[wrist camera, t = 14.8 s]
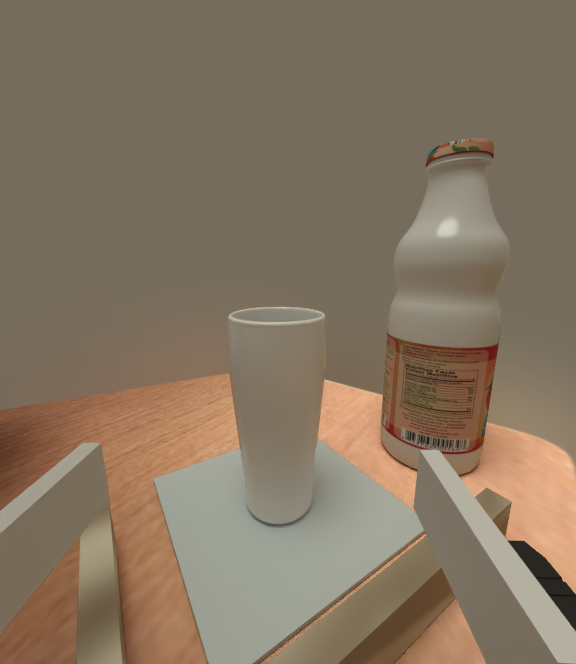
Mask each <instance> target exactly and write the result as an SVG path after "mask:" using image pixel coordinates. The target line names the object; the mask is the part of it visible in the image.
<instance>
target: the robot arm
mask: <svg viewBox="0 0 576 664" xmlns="http://www.w3.org/2000/svg"><path fill="white" fill-rule="evenodd" d="M109 500H110V499H109V492H108V486H107V479H106V473H105V466H104V460H103V453H102V447H101V443H82V444H81V445H80V446H78V447H77V448H76V449H75V450H74V451H72V452H71V453H70V454H69V455H68V456H66V457H65V458H64V459H63V460H61V461H60V462H59V463H58V464H57V465H55V466H54V467H53V468H52V469H50V470H49V471H48V472H47V473H46V474H44V475H43V476H42V477H41V478H40V479H38V480H37V481H36V482H35V483H33V484H32V485H31V486H30V487H29V488H27V489H26V490H25V491H24V492H23V493H21V494H20V495H19V496H18V497H16V498H15V499H14V500H13V501H12V502H10V503H9V504H8V505H7V506H5V507H4V508H3V509H2V510H1V511H0V634H1V633H2V632H3V630H4V629H5V628H6V627H7V625H8V624H9V623H10V622H11V621H12V619H13V618H14V617H15V616H16V614H17V613H18V612H19V611H20V609H21V608H22V607H23V606H24V604H25V603H26V602H27V601H28V600H29V598H30V597H31V596H32V595H33V593H34V592H35V591H36V590H37V588H38V587H39V586H40V585H41V583H42V582H43V581H44V580H45V579H46V577H47V576H48V575H49V574H50V572H51V571H52V570H53V569H54V567H55V566H56V565H57V564H58V563H59V561H60V560H61V559H62V558H63V556H64V555H65V554H66V553H67V551H68V550H69V549H70V548H71V546H72V545H73V544H74V543H75V542H76V540H77V539H78V538H79V537H80V535H81V534H82V533H83V532H84V530H85V529H86V528H87V527H88V525H89V524H90V523H91V522H92V521H93V519H94V518H95V517H96V516H97V514H98V513H99V512H100V511H101V509H102V508H103V507H104V506H105V504H106V503H107V502H108V501H109ZM414 510H415V512H416V514H417V516H418V518H419V520H420V523H421V525H422V527H423V529H424V531H425V533H426V535H427V537H428V540H429V542H430V544H431V546H432V548H433V550H434V552H435V555H436V557H437V559H438V561H439V563H440V565H441V567H442V569H443V572H444V574H445V576H446V578H447V580H448V582H449V584H450V587H451V589H452V591H453V593H454V595H455V597H456V599H457V601H458V604H459V606H460V608H461V610H462V612H463V614H464V616H465V619H466V621H467V623H468V625H469V627H470V629H471V631H472V633H473V636H474V638H475V640H476V642H477V644H478V646H479V648H480V651H481V653H482V655H483V657H484V659H485V661H486V663H487V664H576V594H575V593H574V592H573V591H572V589H571V588H570V587H569V586H568V585H567V583H566V582H563V580H562V577H561V576H560V575H559V574H558V573H557V571H556V570H555V569H554V568H553V567H552V566H551V564H550V563H549V562H548V561H547V560H546V558H545V557H543V556H542V555H541V554H540V553H538V552H537V551H536V550H535V549H533V548H532V547H531V546H530V545H528V544H527V543H526V542H525V541H507V540H506V538H505V537H504V536H503V534H502V533H501V532H500V530H499V529H498V528H497V526H496V525H495V524H494V522H493V521H492V520H491V518H490V517H489V516H488V514H487V513H486V512H485V510H484V509H483V508H482V506H481V505H480V504H479V502H478V501H477V500H476V498H475V497H474V496H473V494H472V493H471V492H470V490H469V489H468V488H467V486H466V485H465V484H464V482H463V481H462V480H461V478H460V477H459V476H458V474H457V473H456V472H455V470H454V469H453V468H452V466H451V465H450V464H449V462H448V461H447V460H446V458H445V457H444V456H443V455H442V453H441V452H440V451H439V450H420V452H419V461H418V471H417V480H416V490H415V499H414Z"/></svg>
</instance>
